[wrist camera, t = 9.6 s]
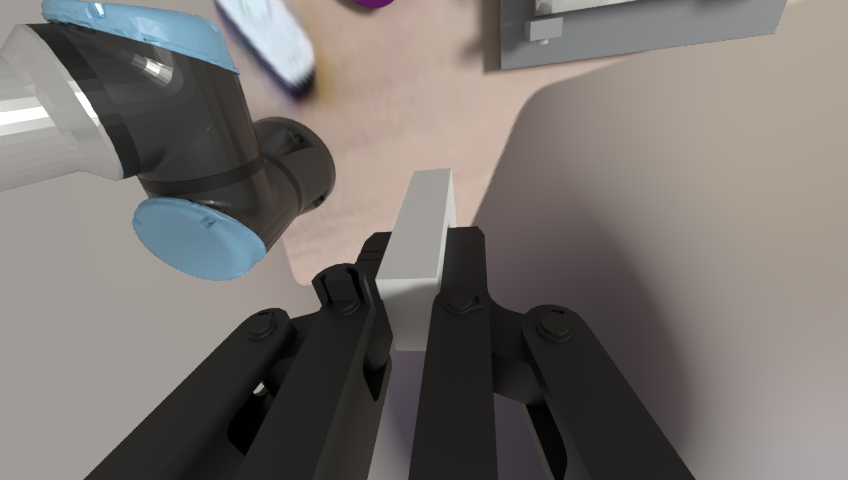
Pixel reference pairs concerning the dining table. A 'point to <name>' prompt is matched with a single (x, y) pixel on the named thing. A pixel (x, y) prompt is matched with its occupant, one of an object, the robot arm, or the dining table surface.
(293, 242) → the dining table surface
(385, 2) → the mounting bracket
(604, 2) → the grey long flat bar
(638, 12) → the latch base
